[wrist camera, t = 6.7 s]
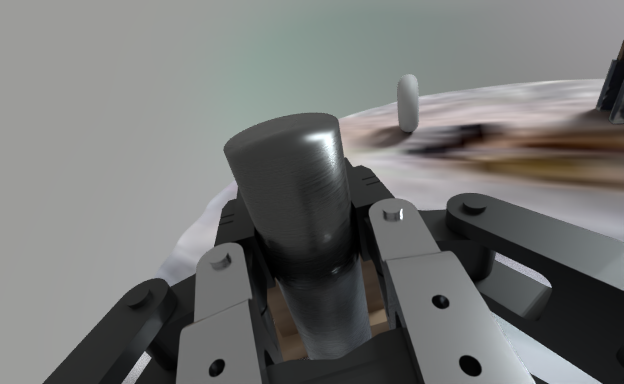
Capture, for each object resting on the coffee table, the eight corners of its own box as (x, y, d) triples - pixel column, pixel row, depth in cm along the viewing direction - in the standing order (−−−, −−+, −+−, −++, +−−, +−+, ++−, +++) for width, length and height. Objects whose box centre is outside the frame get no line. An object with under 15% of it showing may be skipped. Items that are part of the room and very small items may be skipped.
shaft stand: (336, 198, 36) (319, 111, 30) (398, 329, 20) (391, 197, 14) (271, 216, 36) (241, 131, 29) (282, 364, 19) (219, 245, 13)
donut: (399, 122, 55) (398, 70, 50) (417, 120, 54) (417, 67, 49) (398, 141, 47) (396, 83, 42) (419, 140, 46) (419, 79, 41)
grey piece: (315, 196, 28) (284, 64, 21) (387, 398, 12) (354, 135, 6) (288, 204, 28) (248, 73, 21) (325, 417, 12) (215, 172, 5)
